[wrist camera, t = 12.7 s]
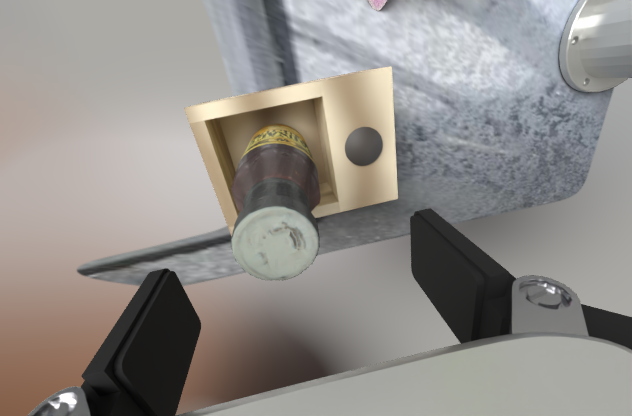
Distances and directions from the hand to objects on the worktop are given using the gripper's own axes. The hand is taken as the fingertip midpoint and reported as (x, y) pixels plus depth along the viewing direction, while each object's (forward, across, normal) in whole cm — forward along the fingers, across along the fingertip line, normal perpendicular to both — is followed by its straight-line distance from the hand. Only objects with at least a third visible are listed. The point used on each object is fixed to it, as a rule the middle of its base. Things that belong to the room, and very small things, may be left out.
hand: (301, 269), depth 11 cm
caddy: (+23, -2, 0) cm, 23 cm away
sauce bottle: (+22, +1, 0) cm, 22 cm away
